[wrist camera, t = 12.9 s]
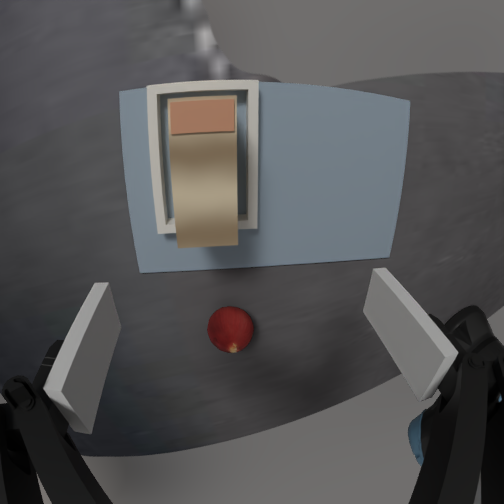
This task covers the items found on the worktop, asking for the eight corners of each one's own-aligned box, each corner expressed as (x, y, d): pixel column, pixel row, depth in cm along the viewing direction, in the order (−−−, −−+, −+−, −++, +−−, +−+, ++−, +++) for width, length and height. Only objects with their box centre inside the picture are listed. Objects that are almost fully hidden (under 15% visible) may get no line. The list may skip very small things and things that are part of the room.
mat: (408, 101, 30) (410, 101, 30) (388, 256, 40) (389, 257, 40) (120, 91, 26) (119, 91, 26) (140, 271, 36) (140, 273, 36)
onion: (235, 332, 43) (240, 373, 36) (199, 317, 41) (199, 359, 34) (257, 304, 41) (267, 344, 34) (220, 287, 39) (224, 328, 32)
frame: (255, 81, 28) (258, 80, 26) (254, 221, 35) (257, 228, 33) (150, 87, 26) (146, 85, 25) (160, 226, 34) (157, 233, 32)
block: (230, 206, 34) (238, 246, 25) (186, 209, 33) (177, 249, 24) (229, 99, 28) (236, 95, 19) (181, 102, 28) (167, 98, 19)
